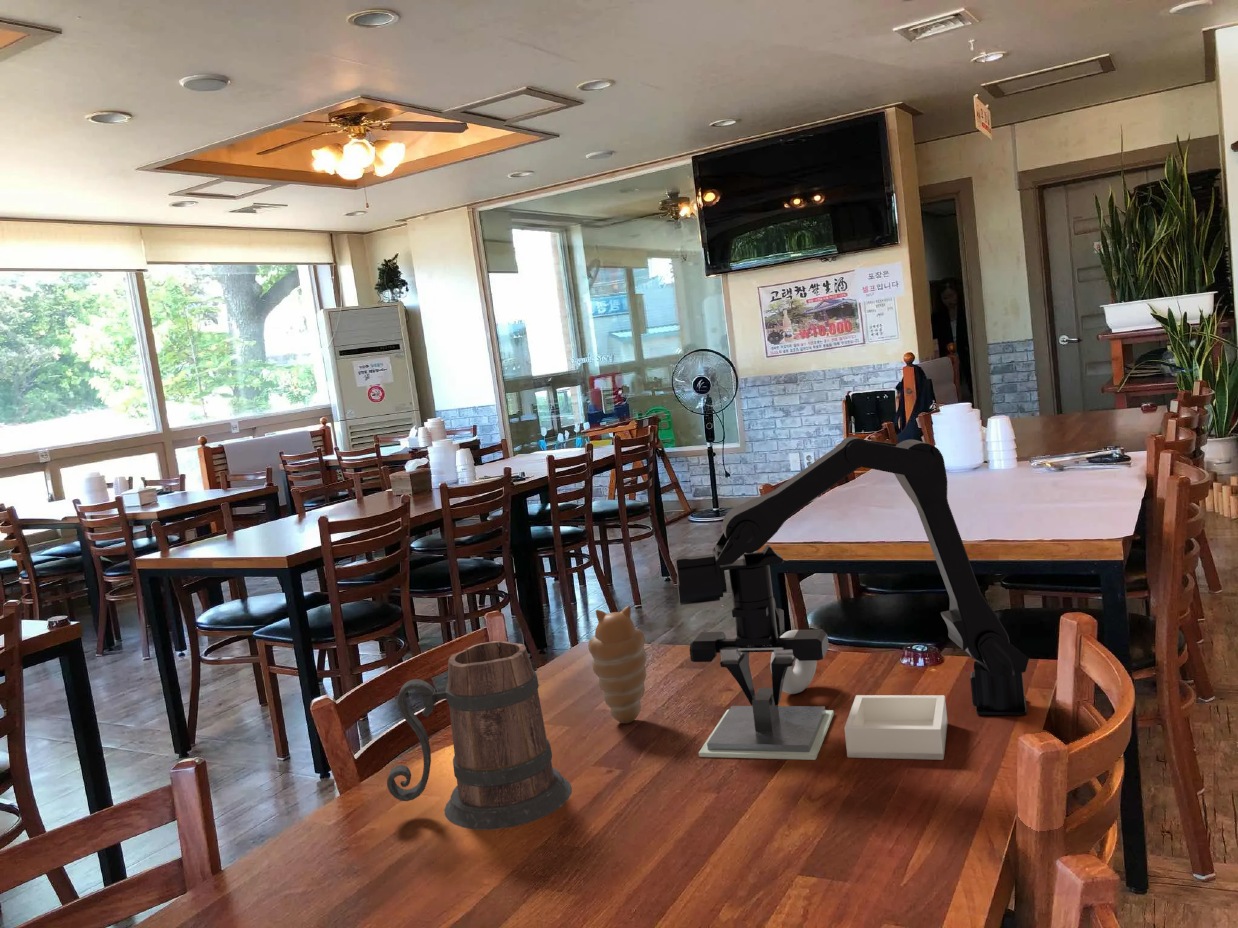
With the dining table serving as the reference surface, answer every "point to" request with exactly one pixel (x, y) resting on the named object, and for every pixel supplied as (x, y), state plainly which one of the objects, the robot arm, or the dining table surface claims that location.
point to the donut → (797, 671)
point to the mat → (771, 754)
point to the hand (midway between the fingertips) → (765, 704)
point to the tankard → (489, 740)
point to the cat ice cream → (619, 663)
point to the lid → (768, 726)
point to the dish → (897, 727)
